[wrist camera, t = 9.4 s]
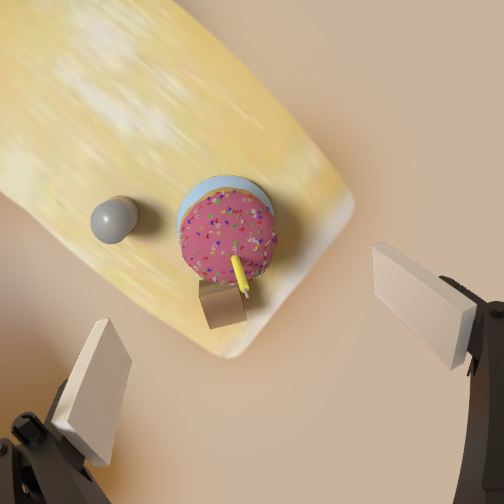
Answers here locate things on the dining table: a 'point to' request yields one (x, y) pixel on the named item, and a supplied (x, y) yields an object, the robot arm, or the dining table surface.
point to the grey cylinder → (114, 219)
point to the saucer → (215, 184)
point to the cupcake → (228, 237)
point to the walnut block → (221, 303)
